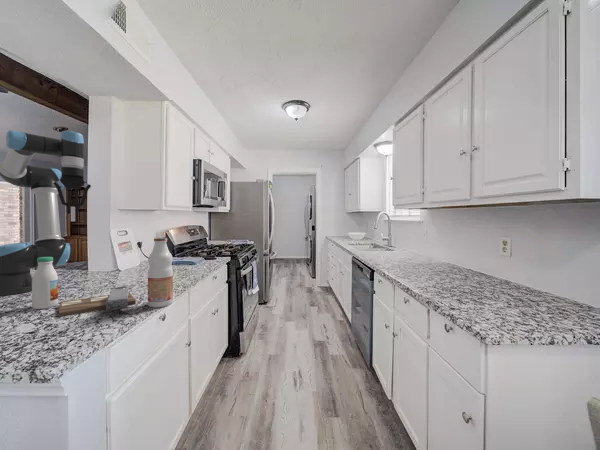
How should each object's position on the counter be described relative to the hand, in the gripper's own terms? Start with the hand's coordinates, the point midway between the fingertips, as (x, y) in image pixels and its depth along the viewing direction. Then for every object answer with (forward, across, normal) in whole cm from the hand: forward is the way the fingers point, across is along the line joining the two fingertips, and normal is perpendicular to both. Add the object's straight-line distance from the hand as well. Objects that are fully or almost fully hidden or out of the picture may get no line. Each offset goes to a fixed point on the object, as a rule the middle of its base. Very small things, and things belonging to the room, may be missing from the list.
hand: (73, 221), depth 119 cm
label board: (+34, -8, +17) cm, 39 cm away
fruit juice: (+35, -28, +32) cm, 55 cm away
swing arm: (+32, -14, +24) cm, 43 cm away
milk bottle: (+35, +9, +7) cm, 36 cm away
